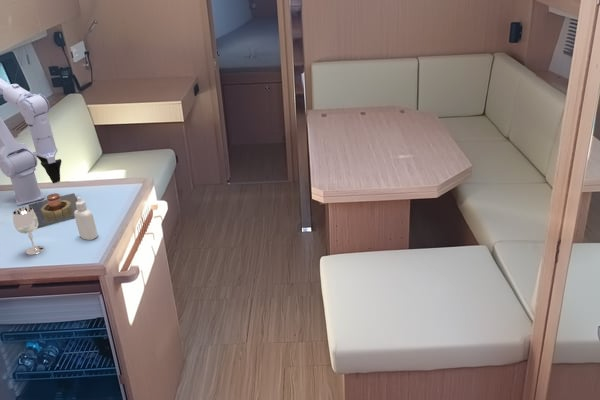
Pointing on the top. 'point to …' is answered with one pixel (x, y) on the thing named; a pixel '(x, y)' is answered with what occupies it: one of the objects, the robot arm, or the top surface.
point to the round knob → (54, 202)
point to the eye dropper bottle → (85, 221)
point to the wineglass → (27, 226)
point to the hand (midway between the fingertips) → (54, 178)
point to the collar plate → (55, 216)
